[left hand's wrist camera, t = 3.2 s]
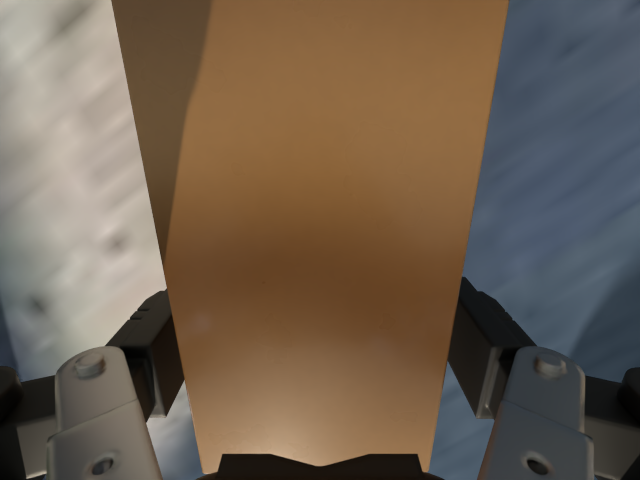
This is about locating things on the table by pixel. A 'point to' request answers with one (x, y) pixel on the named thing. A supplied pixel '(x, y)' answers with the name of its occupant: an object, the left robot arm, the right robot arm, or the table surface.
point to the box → (312, 209)
